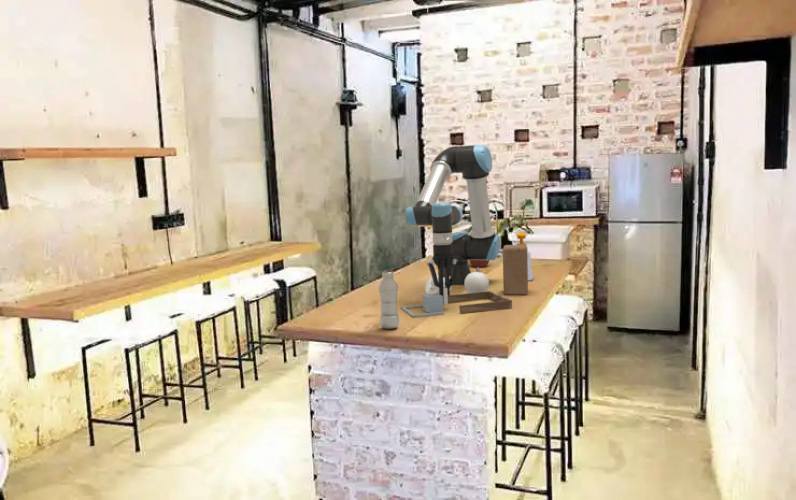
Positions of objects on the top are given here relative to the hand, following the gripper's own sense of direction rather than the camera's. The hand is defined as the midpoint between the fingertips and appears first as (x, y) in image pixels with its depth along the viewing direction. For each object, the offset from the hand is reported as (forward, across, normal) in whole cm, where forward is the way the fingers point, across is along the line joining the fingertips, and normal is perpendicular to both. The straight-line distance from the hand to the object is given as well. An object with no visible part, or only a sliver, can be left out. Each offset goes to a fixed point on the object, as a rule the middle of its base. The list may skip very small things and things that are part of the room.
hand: (444, 304), depth 253 cm
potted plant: (+2, +49, +86) cm, 99 cm away
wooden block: (+2, +38, +15) cm, 41 cm away
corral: (+2, -9, 0) cm, 10 cm away
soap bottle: (+2, +55, +43) cm, 70 cm away
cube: (+2, -5, 0) cm, 5 cm away
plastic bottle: (+2, -28, -19) cm, 33 cm away
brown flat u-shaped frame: (+2, +13, 0) cm, 13 cm away
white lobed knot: (+2, +6, +21) cm, 22 cm away
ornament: (+2, +21, +17) cm, 27 cm away
